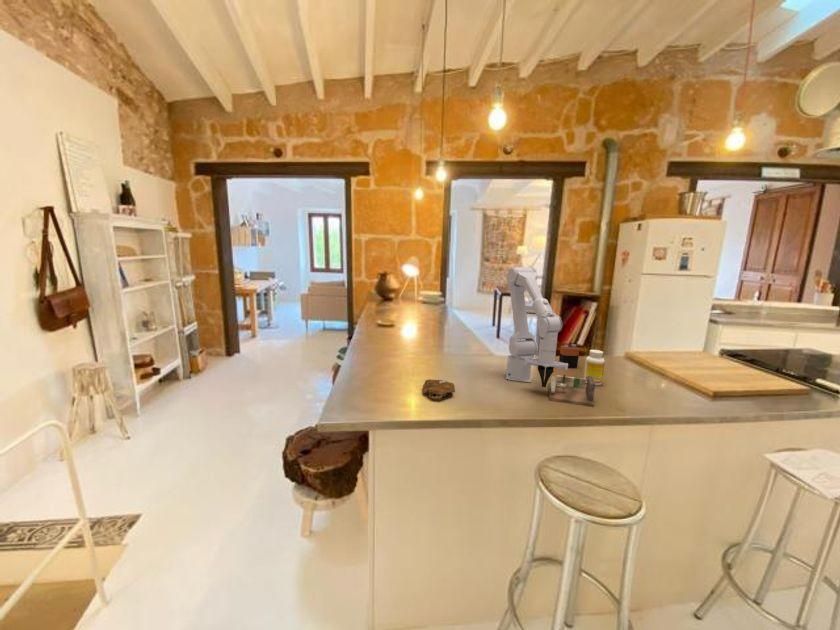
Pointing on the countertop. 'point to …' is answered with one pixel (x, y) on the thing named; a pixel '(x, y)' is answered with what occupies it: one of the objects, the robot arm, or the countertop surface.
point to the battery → (569, 355)
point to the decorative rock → (438, 388)
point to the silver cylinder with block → (557, 384)
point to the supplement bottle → (595, 366)
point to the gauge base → (574, 391)
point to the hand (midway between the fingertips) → (543, 386)
